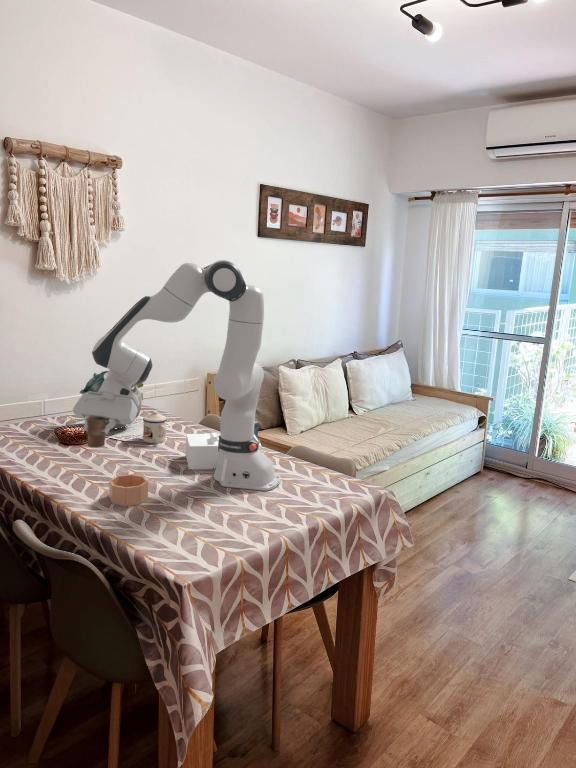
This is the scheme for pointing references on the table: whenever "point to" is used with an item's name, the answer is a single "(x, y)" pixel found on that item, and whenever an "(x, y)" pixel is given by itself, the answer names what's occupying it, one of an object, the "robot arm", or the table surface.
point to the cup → (128, 490)
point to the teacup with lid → (154, 428)
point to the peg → (96, 432)
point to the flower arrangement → (97, 382)
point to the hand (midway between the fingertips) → (94, 431)
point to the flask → (256, 429)
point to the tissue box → (203, 450)
